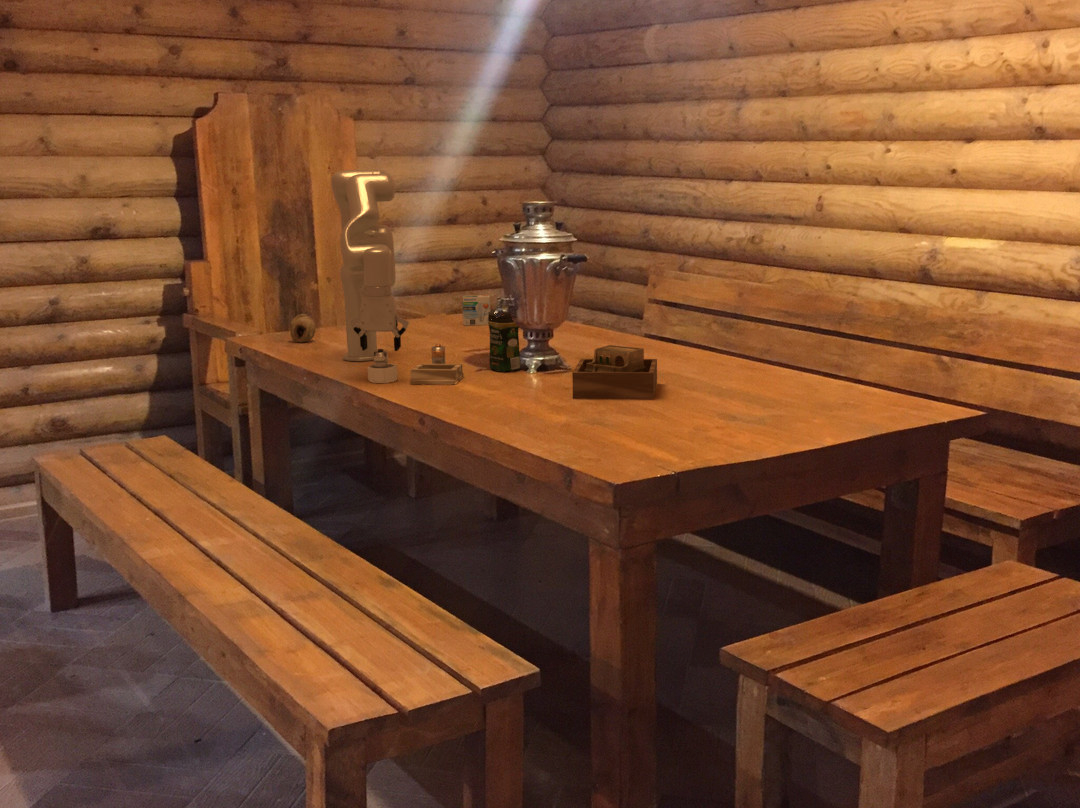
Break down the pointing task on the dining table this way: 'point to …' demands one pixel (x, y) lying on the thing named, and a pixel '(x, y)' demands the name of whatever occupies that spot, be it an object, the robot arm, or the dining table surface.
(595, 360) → the miniature house
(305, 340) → the tan rounded piece
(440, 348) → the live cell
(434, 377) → the tray
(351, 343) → the robot arm
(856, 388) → the dining table surface
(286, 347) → the dining table surface
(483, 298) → the light bulb box
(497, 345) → the coffee jar
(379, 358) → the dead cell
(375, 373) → the beige piece
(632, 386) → the open brown storage box
